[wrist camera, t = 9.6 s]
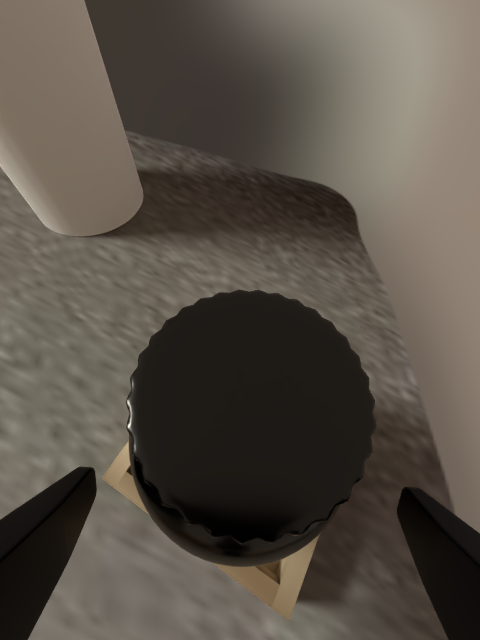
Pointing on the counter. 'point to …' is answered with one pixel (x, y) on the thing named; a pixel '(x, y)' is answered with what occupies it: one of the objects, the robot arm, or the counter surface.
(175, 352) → the supplement bottle
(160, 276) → the counter surface
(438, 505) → the robot arm
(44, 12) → the paper towel roll
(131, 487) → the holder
